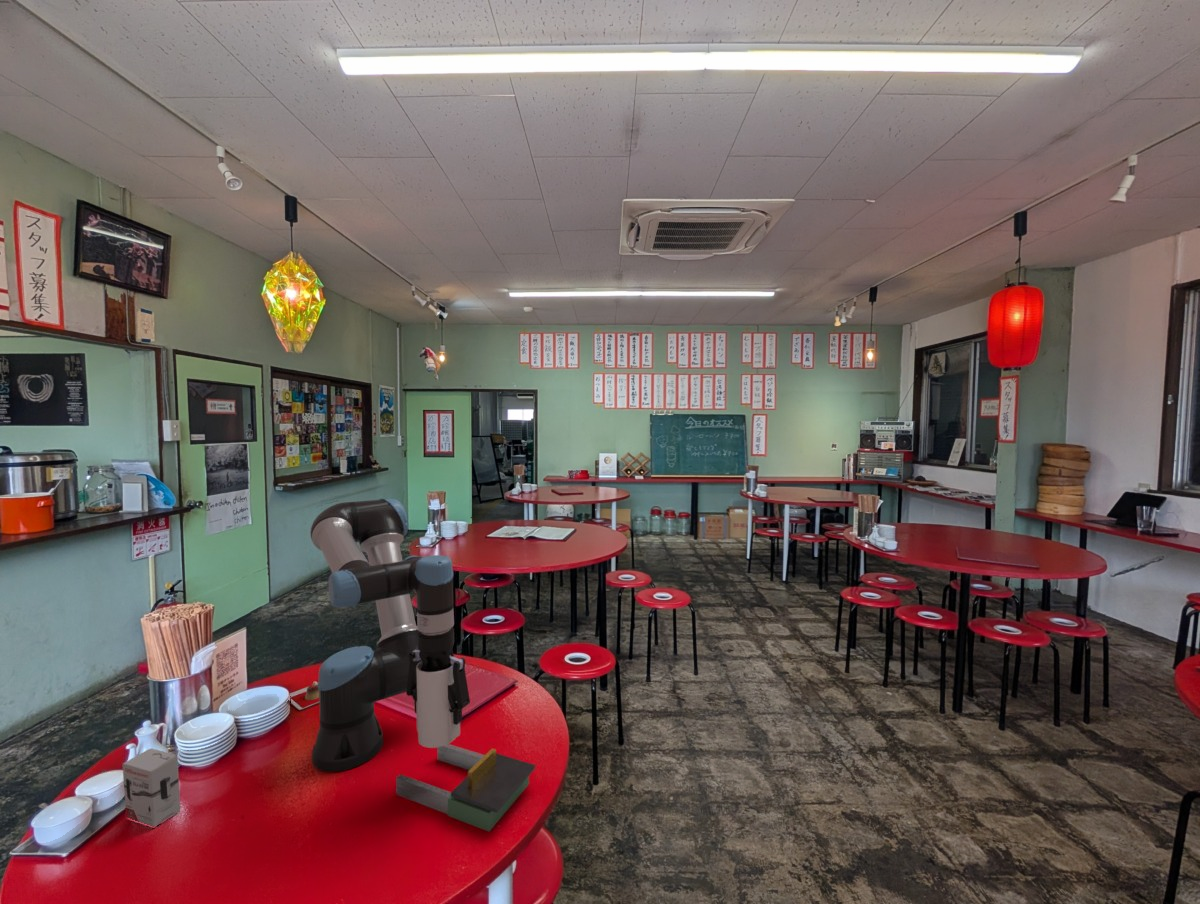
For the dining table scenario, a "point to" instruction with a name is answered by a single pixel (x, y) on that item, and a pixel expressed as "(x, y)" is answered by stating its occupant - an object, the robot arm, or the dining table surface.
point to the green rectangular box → (480, 810)
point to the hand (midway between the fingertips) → (438, 732)
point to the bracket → (430, 793)
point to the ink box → (151, 787)
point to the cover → (493, 781)
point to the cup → (433, 706)
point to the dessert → (307, 694)
